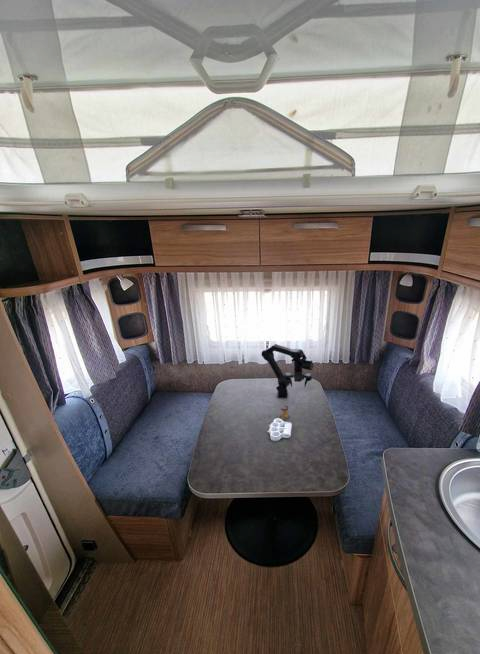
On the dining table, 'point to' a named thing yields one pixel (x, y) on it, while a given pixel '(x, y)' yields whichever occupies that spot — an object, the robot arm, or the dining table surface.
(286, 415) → the spice jar
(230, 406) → the dining table surface
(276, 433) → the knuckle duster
